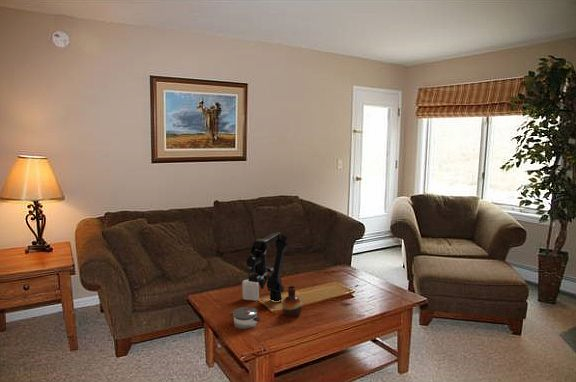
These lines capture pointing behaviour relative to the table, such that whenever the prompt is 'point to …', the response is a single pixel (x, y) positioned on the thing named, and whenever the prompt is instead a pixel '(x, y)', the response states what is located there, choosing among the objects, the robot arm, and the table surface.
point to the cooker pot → (245, 322)
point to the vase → (291, 303)
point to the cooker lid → (245, 313)
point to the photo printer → (250, 290)
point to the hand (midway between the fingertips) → (262, 288)
